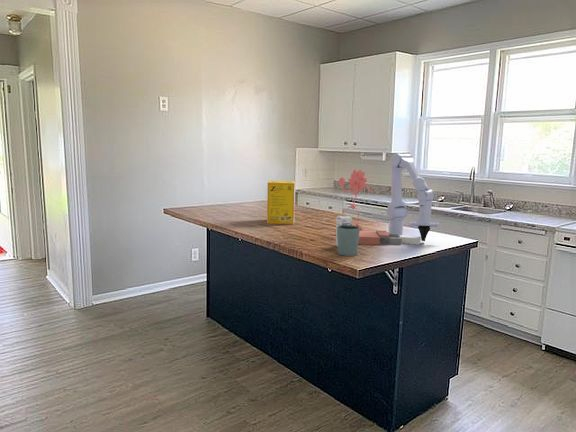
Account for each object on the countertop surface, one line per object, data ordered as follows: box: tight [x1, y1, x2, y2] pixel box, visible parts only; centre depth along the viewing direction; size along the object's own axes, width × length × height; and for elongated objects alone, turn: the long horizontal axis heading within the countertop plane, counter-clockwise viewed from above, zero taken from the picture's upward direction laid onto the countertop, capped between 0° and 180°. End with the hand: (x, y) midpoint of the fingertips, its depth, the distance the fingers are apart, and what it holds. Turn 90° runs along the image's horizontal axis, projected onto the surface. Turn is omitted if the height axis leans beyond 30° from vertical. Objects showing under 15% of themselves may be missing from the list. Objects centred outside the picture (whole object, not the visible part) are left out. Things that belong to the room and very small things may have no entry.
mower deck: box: [358, 229, 403, 246], centre depth 224 cm, size 16×21×4 cm
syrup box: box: [335, 215, 353, 247], centre depth 209 cm, size 6×6×14 cm
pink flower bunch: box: [338, 169, 374, 231], centre depth 244 cm, size 15×26×35 cm, turn 38°
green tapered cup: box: [337, 225, 361, 257], centre depth 195 cm, size 10×10×12 cm
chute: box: [398, 234, 421, 245], centre depth 222 cm, size 5×10×3 cm, turn 71°
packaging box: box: [266, 180, 296, 225], centre depth 275 cm, size 16×16×25 cm
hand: (423, 240), depth 222 cm, fingers closed
